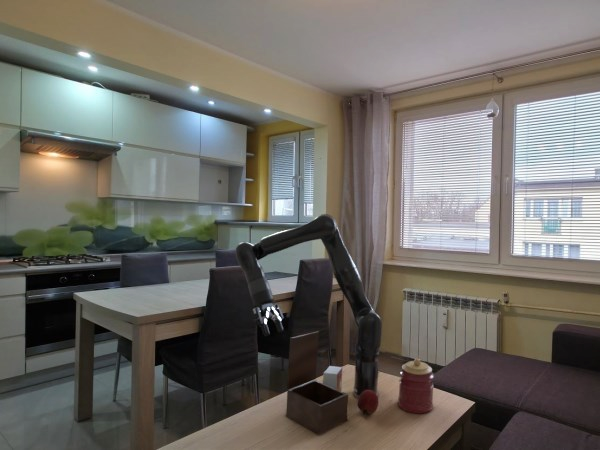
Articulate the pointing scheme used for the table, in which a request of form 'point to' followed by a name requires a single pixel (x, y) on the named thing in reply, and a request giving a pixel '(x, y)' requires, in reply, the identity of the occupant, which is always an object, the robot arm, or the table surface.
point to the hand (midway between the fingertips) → (274, 333)
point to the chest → (317, 406)
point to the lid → (302, 359)
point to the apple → (368, 401)
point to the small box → (333, 377)
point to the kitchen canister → (416, 387)
